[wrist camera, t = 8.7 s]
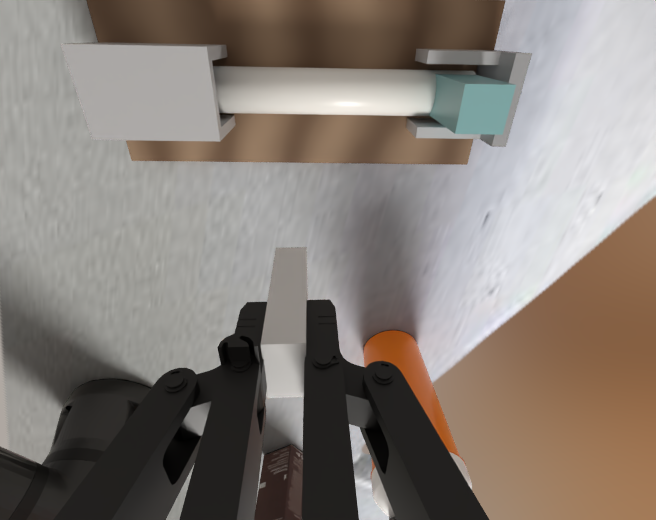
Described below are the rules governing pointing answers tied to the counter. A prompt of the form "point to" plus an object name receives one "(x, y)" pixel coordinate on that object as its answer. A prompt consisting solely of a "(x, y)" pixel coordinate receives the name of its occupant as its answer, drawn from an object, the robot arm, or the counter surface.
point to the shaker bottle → (409, 361)
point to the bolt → (368, 94)
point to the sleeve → (148, 90)
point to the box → (281, 486)
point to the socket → (489, 65)
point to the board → (308, 52)
